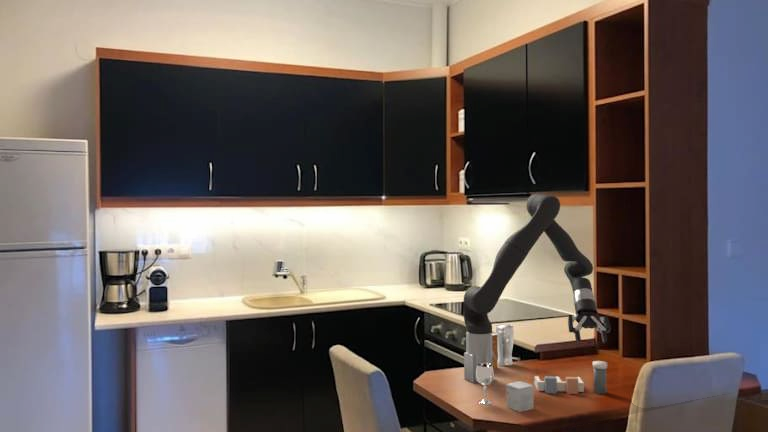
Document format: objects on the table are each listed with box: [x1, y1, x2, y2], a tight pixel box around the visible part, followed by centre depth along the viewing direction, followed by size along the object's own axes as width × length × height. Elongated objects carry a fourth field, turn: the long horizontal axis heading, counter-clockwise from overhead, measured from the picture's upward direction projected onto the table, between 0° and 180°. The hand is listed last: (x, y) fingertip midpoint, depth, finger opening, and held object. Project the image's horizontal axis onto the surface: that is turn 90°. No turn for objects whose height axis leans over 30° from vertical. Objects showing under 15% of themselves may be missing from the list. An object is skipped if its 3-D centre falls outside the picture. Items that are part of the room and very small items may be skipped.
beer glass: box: [495, 323, 515, 367], centre depth 240 cm, size 7×7×15 cm
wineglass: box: [476, 363, 495, 405], centre depth 196 cm, size 6×6×12 cm
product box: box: [506, 380, 535, 413], centre depth 190 cm, size 6×6×7 cm
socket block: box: [533, 375, 585, 395], centre depth 209 cm, size 11×15×5 cm
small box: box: [492, 332, 498, 370], centre depth 236 cm, size 8×6×13 cm
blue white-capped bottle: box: [592, 360, 608, 395], centre depth 204 cm, size 5×5×10 cm
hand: (592, 341), depth 215 cm, fingers open, 8 cm apart
